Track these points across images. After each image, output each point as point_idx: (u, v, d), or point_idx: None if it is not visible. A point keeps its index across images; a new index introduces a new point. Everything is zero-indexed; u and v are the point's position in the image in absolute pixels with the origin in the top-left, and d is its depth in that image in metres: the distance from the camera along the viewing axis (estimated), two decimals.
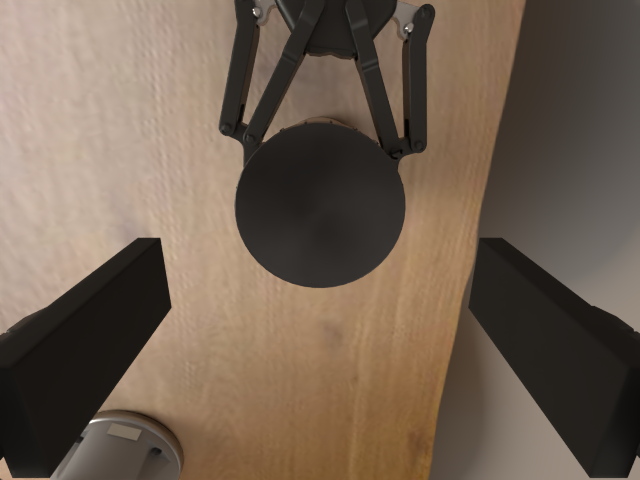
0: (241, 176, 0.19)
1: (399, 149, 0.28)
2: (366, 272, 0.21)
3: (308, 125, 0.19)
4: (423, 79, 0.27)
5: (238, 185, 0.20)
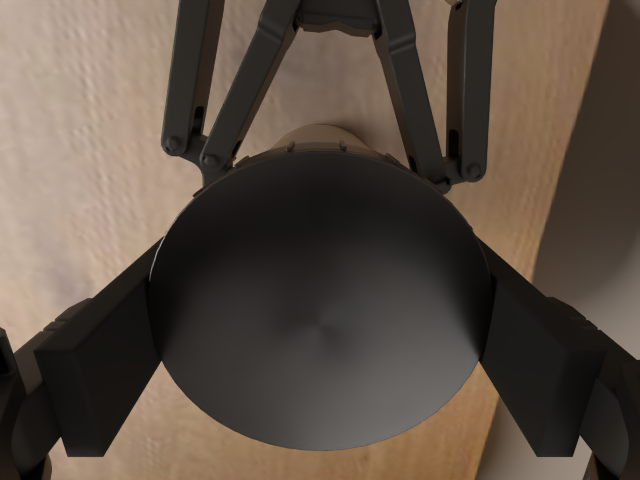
0: (157, 259, 0.09)
1: (443, 177, 0.18)
2: (408, 426, 0.11)
3: (294, 156, 0.08)
4: (486, 67, 0.17)
5: (151, 276, 0.10)
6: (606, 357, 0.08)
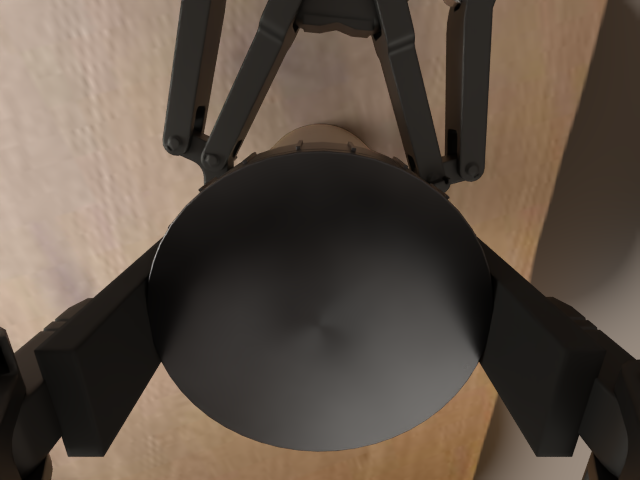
0: (231, 428, 0.11)
1: (442, 176, 0.18)
2: (481, 260, 0.09)
3: (150, 316, 0.10)
4: (484, 67, 0.17)
5: (245, 436, 0.11)
6: (605, 357, 0.08)
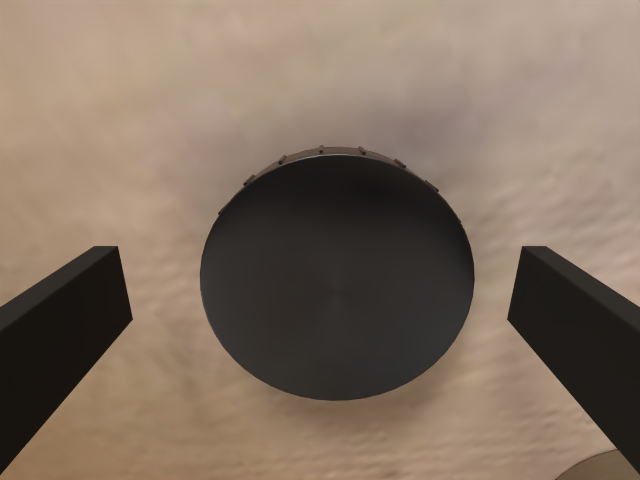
0: (262, 379, 0.14)
1: None
2: (463, 239, 0.12)
3: (202, 284, 0.13)
4: None
5: (274, 386, 0.14)
6: None
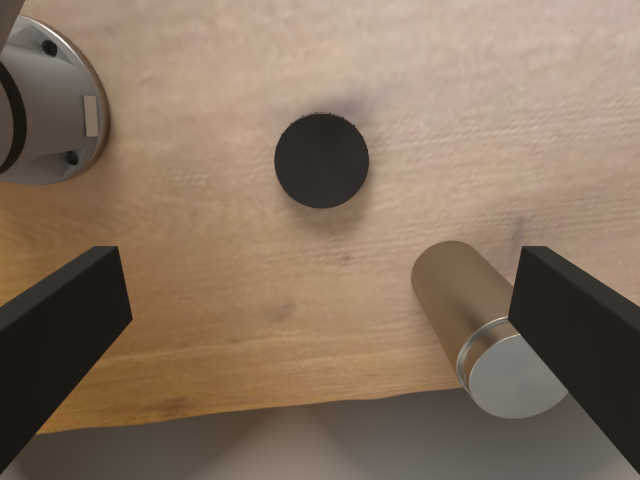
0: (295, 199, 0.38)
1: None
2: (363, 142, 0.36)
3: (275, 159, 0.36)
4: None
5: (299, 202, 0.38)
6: None
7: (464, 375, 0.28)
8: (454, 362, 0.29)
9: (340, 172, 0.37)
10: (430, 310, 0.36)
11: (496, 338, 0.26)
